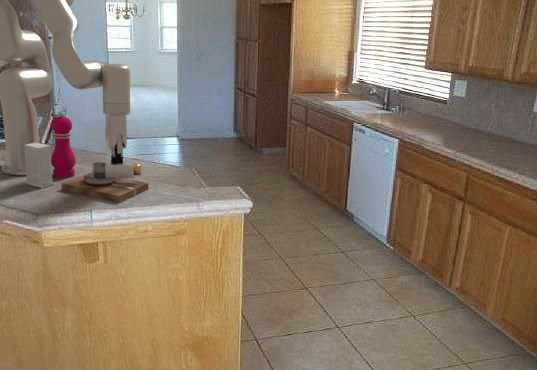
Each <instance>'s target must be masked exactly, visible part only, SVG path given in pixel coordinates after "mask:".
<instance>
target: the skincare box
mask: <svg viewBox="0 0 537 370" xmlns="http://www.w3.org/2000/svg"><path fill="white" fill-rule="evenodd" d="M24 147H25V161H26V175H25V176H26V185H27V186H28V185H29V186H33V187H37V188H41V189H43V188H46V187H50V186H53V168H52V167H53V166H52V164H51V157H52V152H51V145H50V144H44V143H40V142H39V143H31V144H26V145H24Z"/></svg>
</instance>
